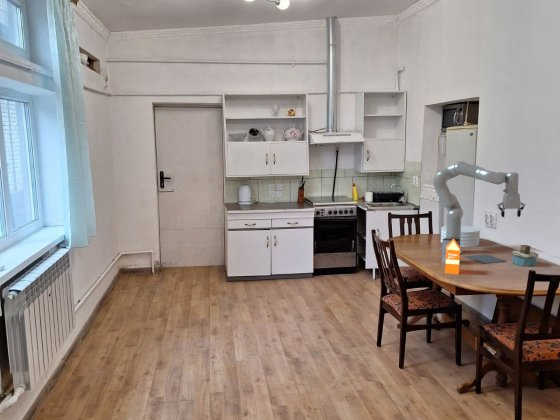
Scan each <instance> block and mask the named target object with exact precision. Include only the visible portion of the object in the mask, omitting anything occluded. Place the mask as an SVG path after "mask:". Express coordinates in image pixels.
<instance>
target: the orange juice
mask: <svg viewBox="0 0 560 420" xmlns="http://www.w3.org/2000/svg"><path fill="white" fill-rule="evenodd" d="M460 250H461V247H459V246H458V244H457V243H456V241H455V240H454V239H453V240H452V241H451V242H450V243H449V245H448V246H447V247H446V263H445V270H444V273H445V274H455V275H459V273H460V272H459V270H460V257H461V254H460Z"/></svg>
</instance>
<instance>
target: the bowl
mask: <svg viewBox="0 0 560 420" xmlns="http://www.w3.org/2000/svg"><path fill="white" fill-rule="evenodd" d="M537 258H538V257H536V258H525V257H518V256H515V255H513V254H512V264H513V265H516V266H520V267H530V268H531V267H536V265H537Z"/></svg>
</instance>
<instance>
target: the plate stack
mask: <svg viewBox="0 0 560 420" xmlns="http://www.w3.org/2000/svg"><path fill="white" fill-rule="evenodd" d="M446 229H447V225H444V226H441V228H440V232H441V233H440V243H441V244H443V239H444V238H446ZM480 232H481V228H479V227H476V226H471V225H463V224H461V238H460V248H461V247H463V248H470V247H471V248H472V247H478V246H479V245H480V238H481V237H480V235H481V233H480Z"/></svg>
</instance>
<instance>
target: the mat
mask: <svg viewBox="0 0 560 420" xmlns="http://www.w3.org/2000/svg"><path fill="white" fill-rule="evenodd" d="M464 258H466V259H469V260H470V261H475V262H477V263H480V264H483V265H484V264H495V263H503V262H505V263H506V262H507V260H505V259H502V258H499V257H495V256H493V255H489V254H488V253H487V254H486V253H485V254H477V255H466V256H465V255H464Z"/></svg>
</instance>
